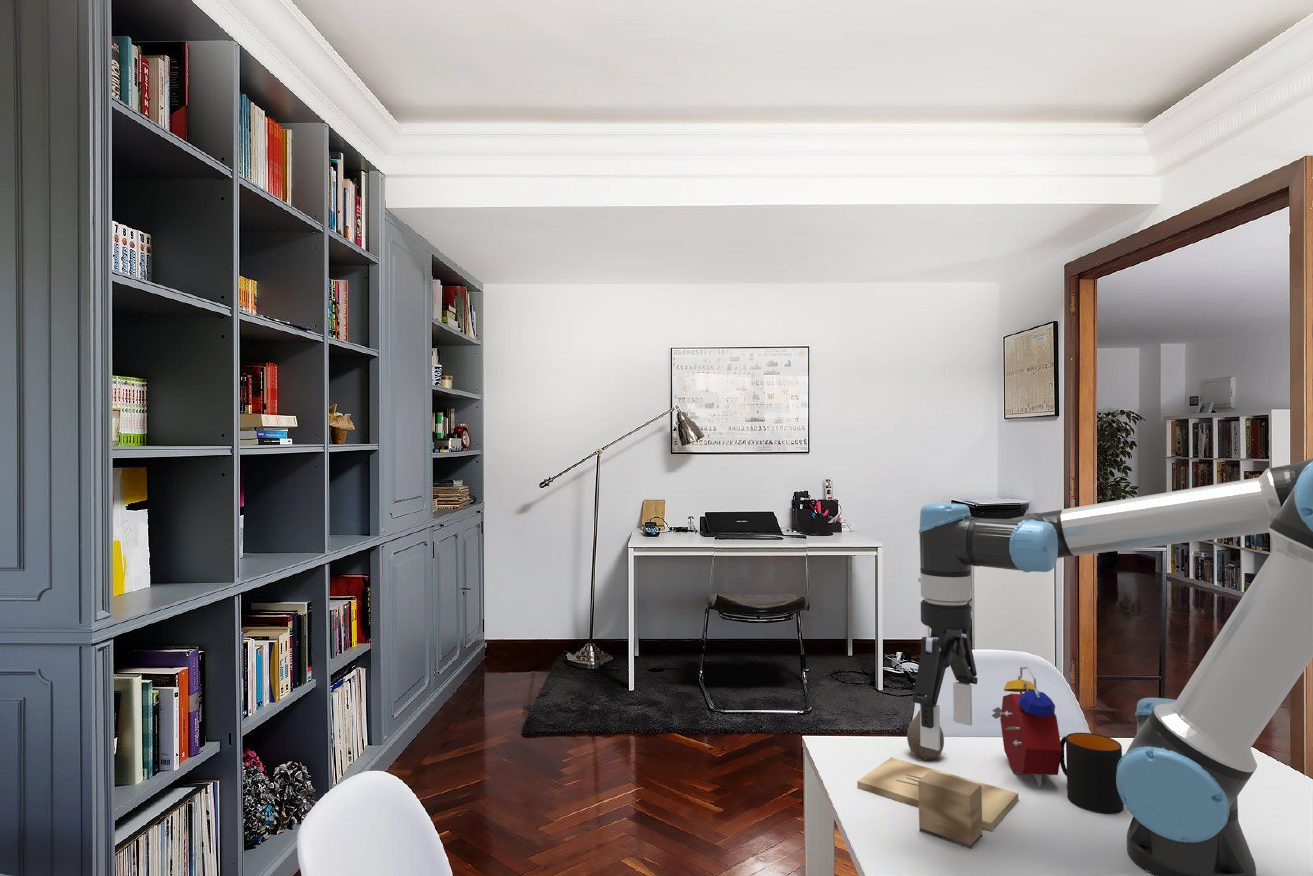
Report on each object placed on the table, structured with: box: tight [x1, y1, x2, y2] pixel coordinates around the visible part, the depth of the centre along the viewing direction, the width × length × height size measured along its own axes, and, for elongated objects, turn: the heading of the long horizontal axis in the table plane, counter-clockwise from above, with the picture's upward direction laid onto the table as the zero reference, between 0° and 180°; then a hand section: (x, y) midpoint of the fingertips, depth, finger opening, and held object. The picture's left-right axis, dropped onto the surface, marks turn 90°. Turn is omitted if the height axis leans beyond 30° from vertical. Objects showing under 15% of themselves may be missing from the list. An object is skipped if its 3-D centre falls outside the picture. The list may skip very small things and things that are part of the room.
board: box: [856, 757, 1019, 832], centre depth 128 cm, size 23×14×1 cm, turn 47°
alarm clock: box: [991, 666, 1062, 787], centre depth 136 cm, size 15×9×20 cm, turn 171°
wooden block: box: [918, 771, 983, 850], centre depth 114 cm, size 8×5×8 cm, turn 47°
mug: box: [1059, 732, 1125, 815], centre depth 126 cm, size 8×12×10 cm
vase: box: [906, 709, 945, 761], centre depth 144 cm, size 7×7×9 cm
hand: (947, 735), depth 115 cm, fingers open, 13 cm apart
